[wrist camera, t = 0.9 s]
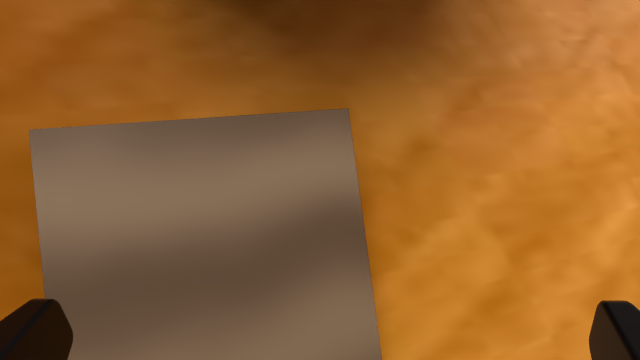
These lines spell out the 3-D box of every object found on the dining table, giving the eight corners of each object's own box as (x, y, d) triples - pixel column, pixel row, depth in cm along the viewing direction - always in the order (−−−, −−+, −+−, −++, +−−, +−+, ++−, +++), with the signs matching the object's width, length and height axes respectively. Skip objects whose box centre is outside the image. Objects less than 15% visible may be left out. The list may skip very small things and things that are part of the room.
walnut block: (351, 379, 27) (387, 402, 23) (74, 443, 23) (63, 482, 19) (318, 126, 28) (348, 108, 24) (45, 147, 24) (28, 129, 20)
